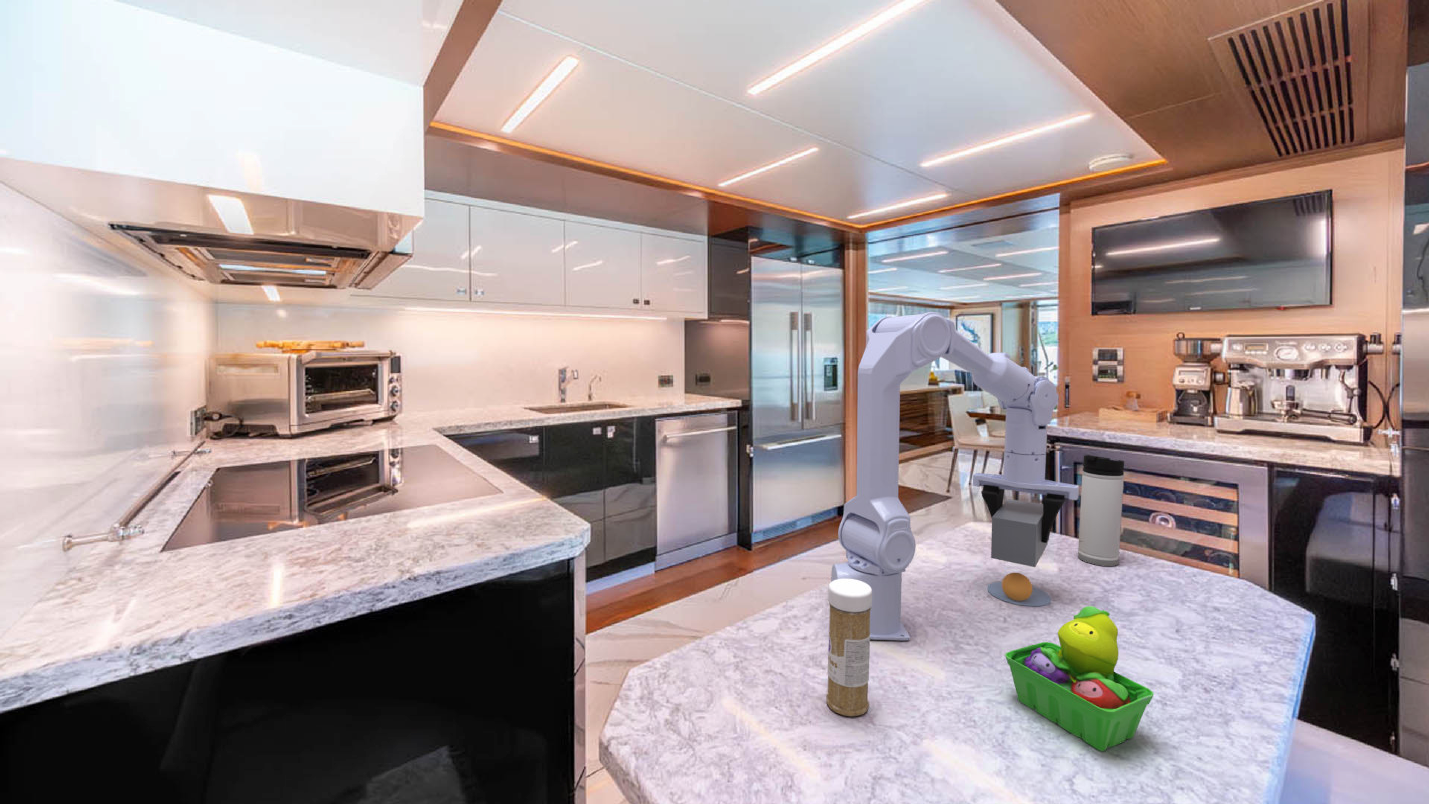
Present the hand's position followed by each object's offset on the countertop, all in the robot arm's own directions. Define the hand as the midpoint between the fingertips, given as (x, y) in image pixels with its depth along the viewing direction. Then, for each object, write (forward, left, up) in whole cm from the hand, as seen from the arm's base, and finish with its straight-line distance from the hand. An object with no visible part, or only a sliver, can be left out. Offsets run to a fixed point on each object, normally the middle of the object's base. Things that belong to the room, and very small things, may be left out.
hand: (1021, 536), depth 88 cm
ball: (-1, -2, -7) cm, 8 cm away
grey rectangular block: (0, 0, -2) cm, 2 cm away
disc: (0, 0, -9) cm, 9 cm away
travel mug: (+22, +16, -10) cm, 29 cm away
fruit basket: (-9, -31, -10) cm, 34 cm away
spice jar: (-33, -30, -10) cm, 46 cm away
